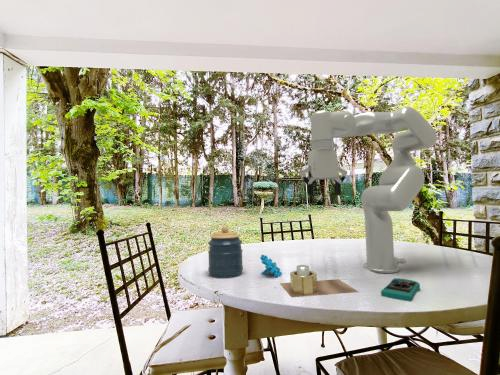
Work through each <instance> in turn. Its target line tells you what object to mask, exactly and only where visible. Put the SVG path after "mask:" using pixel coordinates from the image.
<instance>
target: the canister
mask: <svg viewBox="0 0 500 375" xmlns="http://www.w3.org/2000/svg"><path fill="white" fill-rule="evenodd" d="M240 237H241V235H240V233H237V232H236V231H234V230H232V231H230V230H229V227H227V226H225V225H224V226H222V227H221V231H216V232H213V234H211V235H210V240H209V241H208V242H207V244H208V245H209V247H208V248H209V249H208V251H207V253H208V267H207V268H208V274H209V276H211V277H214V278H223V279H225V278H226V279H227V278H234V277H237V276H240V275H242V274H243V270H244V265H243V252H244V251H243V249H242V244H243V240H241V239H240Z"/></svg>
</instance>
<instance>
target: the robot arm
mask: <svg viewBox="0 0 500 375" xmlns="http://www.w3.org/2000/svg"><path fill="white" fill-rule="evenodd" d="M310 130H311V131H310V132H311V133H310V134H311V136H310V137H311V138H310V139H311V150H310V151H309V153H308V158H307V167H306V168H304V169H303V170H301V171H299V176H300V178H301V180H302V182H304V183H305V185H306V191H307V194H308V197H313V196H314V192H315V191H314V184H313V182H314V181H315V180H332V181H333V182H334V184H333V193H334V194H333V195H334V196H341V193H342V186H341V184H342V183H343V182H344V181H345V179H346V177H347V175H348V171H347V170H345V169H343V168H342V167H340V166H339V159H338V154H337V151H336V148H338V144H337V143H335V140H334V139H340V138H349V137H350V138H351V137H359V136H360V137H362V136H363V137H364V136H369V135H391V134H395V133H397V134H396V135H395V136H393V139H392V140H391V148H392V153H393V159H392V161H391V162H390V164H389V165H388V166H387V167H386V169H385V170H383V172H382V174H381V175H380V176H379V179H378V185H373V186H369V187H367V188H365V189H364V190H363V192H362V194H361V196H360V199H361V200H360V201H361V205H362V210H363V213H364V224H365V251H366V252H365V253H366V256H365V257H366V262H365V263H363V264H362V268H363V269H365V270H367V271H370V272H373V273H379V274H381V273H382V274H393V273H394V274H395V273H397V272H398V273H399V271H400V267H399V265H400V264H401V265H402V264H407V259H406V258H404V257H403V258H398V257H395V249H394V247H395V246H394V231H393V230H394V229H393V228H394V225H393V219H392V217H391V215H390V214H389V212H402V211H404V210H406V209H407V208H408V207H409V206H411V204H412V202H413V201H414V200H415V198H417V196H418V195H419V193H420V191H421V190H422V189H423V187H424V184H425V178H426V177H425V173H424V170H423V169H422V168H421V167H420V166H417V165H416V161H415V159H414V158H413V155H412V154H411V152H414V151H415V152H416V151H419V150H425V149H426V150H427V149H430V148H432V147H433V146H434V145H436V143H437V140H438V135H437V132H436V130H435V128H434V127H433V126H432V125H431V124H430V123H429V121H428V120H427V119H425V117H424V116H423V115H422V114H421V113H420V112H419V111H418V110H417V109H415V108H414V107H412V106H403V107H401V108H398V109H394V110H391V111H367V112H362V113H360V114H356V115H354V114H353V113H351V112H349V111H346V110H345V111H344V110H343V111H341V110H340V111H329V110H318V111H315V112H313V113H312V114H311V116H310ZM306 174H307V176H306ZM339 176H340V177H339Z"/></svg>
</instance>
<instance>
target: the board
mask: <svg viewBox="0 0 500 375" xmlns="http://www.w3.org/2000/svg"><path fill="white" fill-rule="evenodd" d="M279 285H280V286H281V287H282V288H283V290H284V291H286V293H287V294H288V296H290V297H291V298H299V297H300V298H302V297H312V296H327V295H338V294H350V293H351V294H352V293H360V291H359V290H357V289H355V288H353V287H352V286H350V285H348V284H347V283H346V282H344V281H342V280H341V279H339V278H337V279H336V278H335V279H324V280H323V279H321V280H317V292H316V293H314V294H310V295H301V294H296V293H293V292H292V291H291V282H280V283H279Z"/></svg>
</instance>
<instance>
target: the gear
mask: <svg viewBox="0 0 500 375" xmlns="http://www.w3.org/2000/svg"><path fill="white" fill-rule="evenodd" d="M260 260H261V263H262V264H263V265H264V267H265V269H264V270H263V271H262V272H261V273H260V275H262V276H263V275H266V274H267V273H269V274H271V275H273V274H274V277H276V278H278V277H282V273H283V272H281V269H280V267H278V265H277V262H276V261H274V262H273V259H271V258H269V257H268V255H266V254H261V255H260Z"/></svg>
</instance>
